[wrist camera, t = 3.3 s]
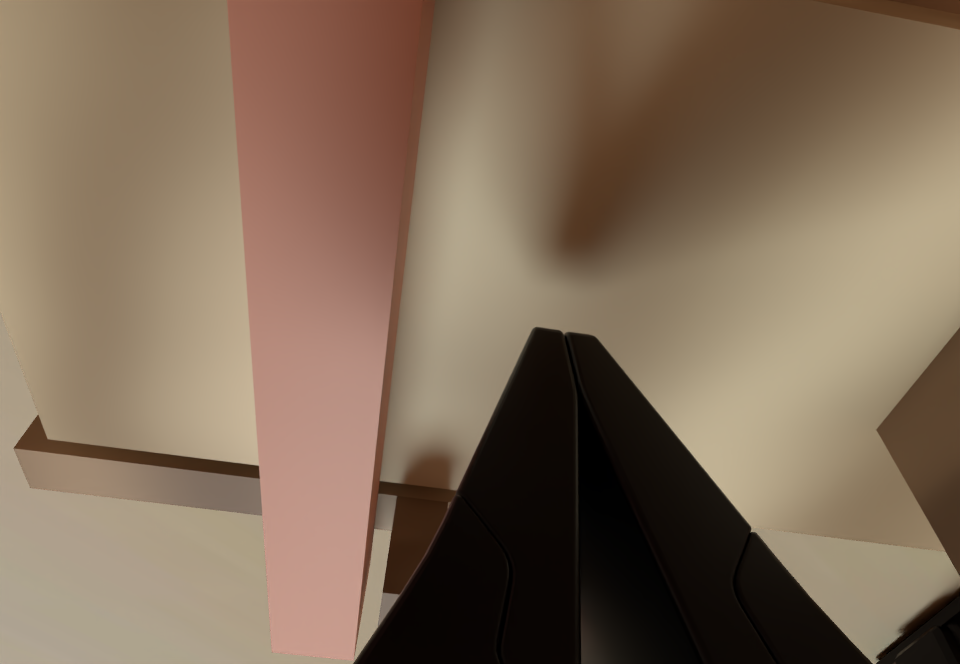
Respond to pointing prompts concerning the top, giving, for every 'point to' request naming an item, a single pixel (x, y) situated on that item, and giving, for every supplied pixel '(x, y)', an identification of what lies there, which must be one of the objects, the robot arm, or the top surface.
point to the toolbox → (241, 478)
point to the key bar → (324, 282)
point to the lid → (532, 237)
